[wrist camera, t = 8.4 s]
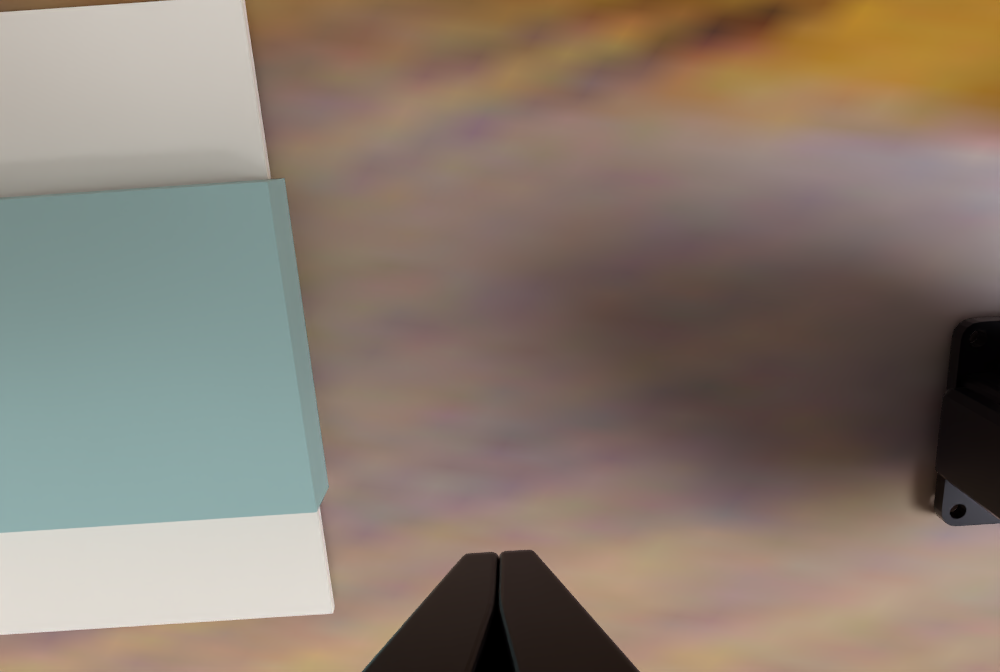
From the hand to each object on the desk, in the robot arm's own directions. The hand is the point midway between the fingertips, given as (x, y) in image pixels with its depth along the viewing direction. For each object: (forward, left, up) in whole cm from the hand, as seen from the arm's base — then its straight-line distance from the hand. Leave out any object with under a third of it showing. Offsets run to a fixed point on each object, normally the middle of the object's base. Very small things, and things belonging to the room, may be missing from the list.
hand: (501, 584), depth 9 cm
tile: (+5, 0, -11) cm, 12 cm away
